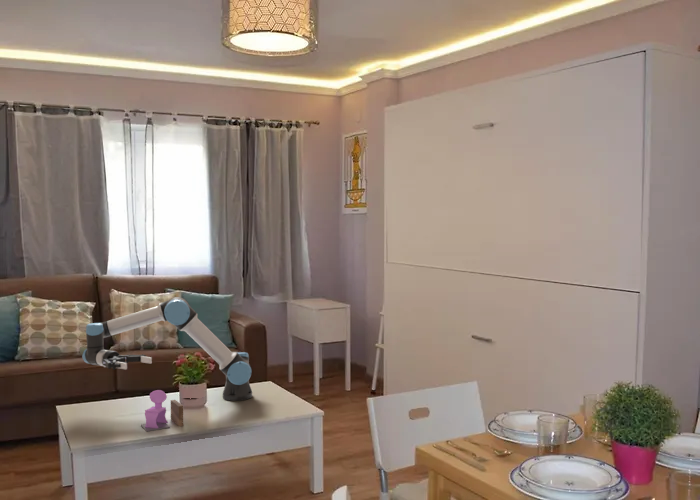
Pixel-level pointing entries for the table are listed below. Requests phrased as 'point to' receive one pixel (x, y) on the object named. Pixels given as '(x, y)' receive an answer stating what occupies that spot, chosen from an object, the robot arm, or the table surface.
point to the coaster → (160, 426)
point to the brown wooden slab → (177, 412)
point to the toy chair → (156, 409)
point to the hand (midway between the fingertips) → (139, 363)
